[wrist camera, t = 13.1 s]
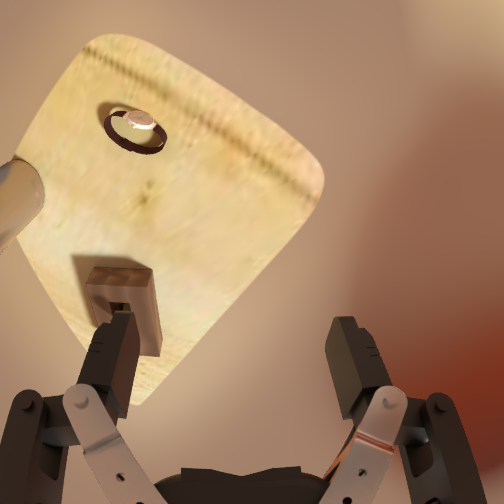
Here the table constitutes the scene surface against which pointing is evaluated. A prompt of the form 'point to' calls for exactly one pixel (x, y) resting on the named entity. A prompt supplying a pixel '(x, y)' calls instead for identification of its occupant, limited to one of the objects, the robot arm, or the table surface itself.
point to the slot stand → (128, 291)
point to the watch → (137, 121)
